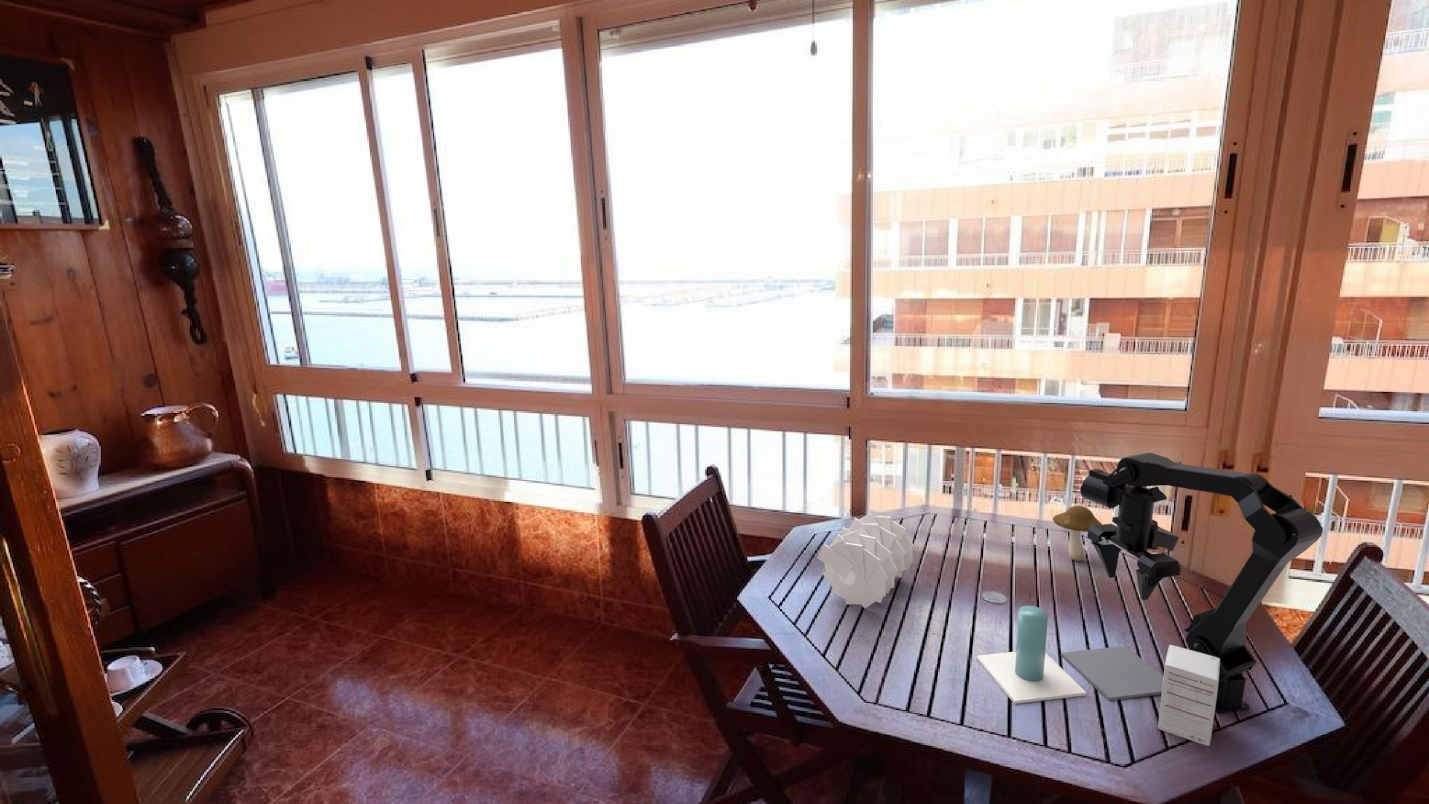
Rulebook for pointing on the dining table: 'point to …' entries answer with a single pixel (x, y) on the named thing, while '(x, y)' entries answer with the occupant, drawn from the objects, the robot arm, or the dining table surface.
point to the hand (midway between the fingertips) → (1127, 588)
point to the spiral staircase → (866, 559)
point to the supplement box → (1189, 694)
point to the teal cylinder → (1031, 643)
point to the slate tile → (1116, 672)
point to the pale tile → (1022, 690)
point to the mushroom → (1076, 527)
